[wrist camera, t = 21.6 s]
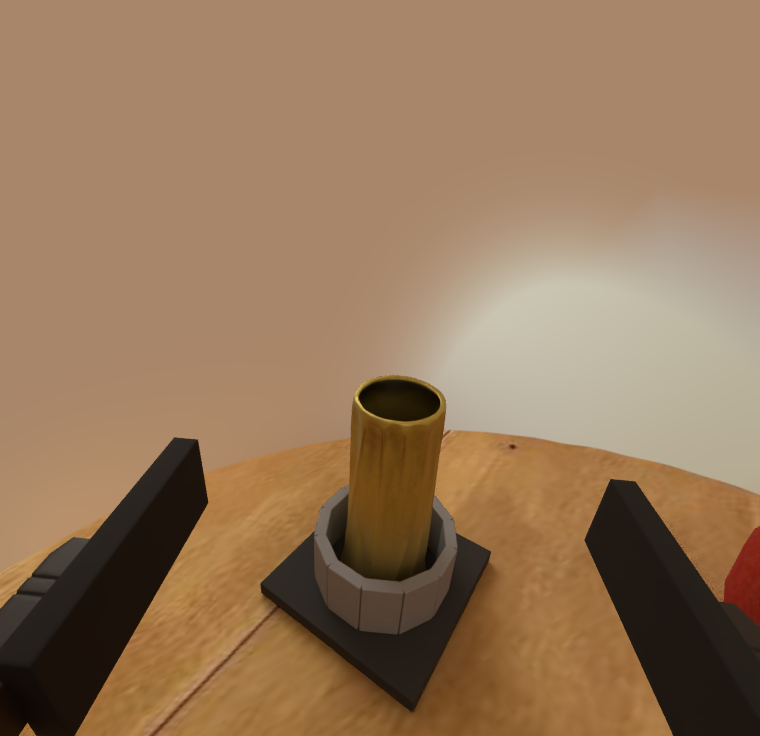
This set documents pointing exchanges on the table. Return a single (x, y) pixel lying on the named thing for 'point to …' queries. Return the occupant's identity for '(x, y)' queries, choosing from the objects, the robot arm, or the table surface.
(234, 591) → the table surface
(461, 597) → the socket pad
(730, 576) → the apple
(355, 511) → the vase
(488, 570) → the table surface
